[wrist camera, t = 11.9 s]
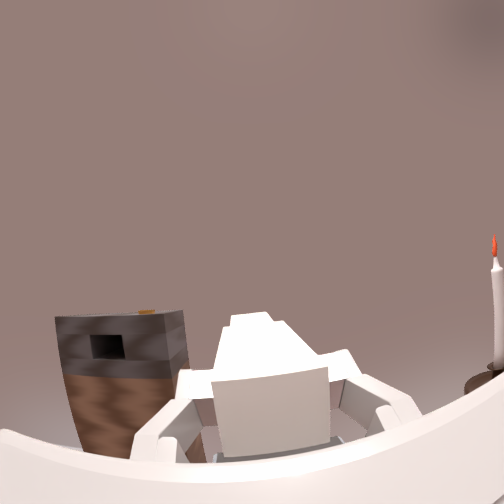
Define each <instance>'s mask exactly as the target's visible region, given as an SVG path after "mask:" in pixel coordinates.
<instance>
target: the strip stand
mask: <svg viewBox="0 0 504 504" xmlns="http://www.w3.org/2000/svg"><path fill="white" fill-rule="evenodd" d="M55 324H56V333H57V341H58V349H59V355H60V361H61V367H62V372H63V378H64V383H65V387H66V392H67V396H68V400H69V404H70V408H71V412H72V416H73V419H74V423H75V426H76V430H77V433H78V436H79V439H80V442H81V445H82V448H83V451H84V452H87V453H92V454H97V455H103V456H109V457H115V458H122V459H130V455H131V450H132V445H133V441H134V436H135V434H136V433H137V432H138V431H139V430H140V429H141V428H142V427H143V426H144V425H145V424H146V423H147V422H148V421H149V420H150V419H152V418H153V417H154V416H155V415H156V414H157V413H158V412H159V411H160V410H161V409H162V408H163V407H164V406H165V405H166V404H167V403H168V402H169V401H170V400H171V399H175V394H176V387H177V381H178V374H179V371H180V369H190V366H189V358H188V351H187V343H186V334H185V325H184V316H183V310H173V311H155V310H140V311H138V312H137V313H112V314H87V315H74V316H58V317H55ZM185 455H186V457H187V459H188V461H189V462H190V463H207V462H206V457H205V453H204V448H203V443H202V439H201V433H199V434H198V436H197V437H196V439H195V440H194V441H193V443H192V444H191V445H190V447H189V448H188V450H187V451H186V452H185Z"/></svg>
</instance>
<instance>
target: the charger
mask: <svg viewBox="0 0 504 504" xmlns="http://www.w3.org/2000/svg"><path fill="white" fill-rule="evenodd" d="M210 383H211V389H212V395H213V401H214V407H215V413H216V418H217V424H218V429H219V433H220V439H221V444H222V449H223V454H224V457H238V456H250V455H259V454H267V453H275V452H282V451H288V450H294V449H300V448H305V447H310V446H315V445H319V444H324V443H328V442H330V384H329V366H328V365H327V364H326V363H325V362H324V361H323V360H322V359H321V358H320V357H319V356H318V355H317V354H316V353H315V352H314V351H313V350H312V349H311V348H310V347H309V346H308V345H307V344H305V342H304V341H303V340H302V339H301V338H300V337H299V336H298V335H297V334H296V333H295V332H294V331H293V330H292V329H291V328H290V327H289V326H287V325H286V323H285V322H284V321H276V322H274V321H273V320H272V319H271V317H270V316H269V315H268V314H267V312H259V313H251V314H242V315H232V316H231V322H230V327H224V328H223V331H222V335H221V339H220V343H219V348H218V352H217V356H216V360H215V364H214V368H213V372H212V377H211V381H210Z"/></svg>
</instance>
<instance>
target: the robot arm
mask: <svg viewBox="0 0 504 504" xmlns="http://www.w3.org/2000/svg"><path fill="white" fill-rule="evenodd" d="M318 356H319V357H320V358H321V359H322V360H323V361H324V362H325V363H326V364H327V365H328V366H329V384H330V410H332V409H336V408H339V409H340V410H341V411H343V412H344V413H345V414H347V415H348V416H349V417H351V418H352V419H353V420H355V421H356V422H357V423H359V424H360V425H361V426H363V427H364V428H365V429H367V430H368V431H367V433H366V435H365V438H362V439H359V440H355V441H352V442H348V443H344V444H341V445H337V446H333V447H329V448H324V449H320V450H315V451H311V452H306V453H300V454H295V455H289V456H283V457H276V458H269V459H260V460H251V461H240V462H225V463H190V462H189V461H188V459H187V457H186V455H185V452H186V451H187V450H188V448H189V447H190V445H191V444H192V443H193V441H194V440H195V439H196V437H197V436H198V434H199V433H200V431H201V430H202V429H203V427H204V426H218V424H217V418H216V413H215V407H214V401H213V395H212V389H211V383H210V381H211V377H212V372H213V368H206V369H180V371H179V374H178V381H177V387H176V394H175V399H171V400H170V401H169V402H168V403H167V404H166V405H165V406H164V407H163V408H162V409H161V410H160V411H159V412H158V413H157V414H156V415H155V416H154V417H153V418H152V419H150V420H149V421H148V422H147V423H146V424H145V425H144V426H143V427H142V428H141V429H140V430H139V431H138V432H137V433H136V434H135V436H134V441H133V445H132V450H131V455H130V459H122V458H115V457H109V456H103V455H97V454H92V453H87V452H82V451H78V450H73V449H69V448H65V447H61V446H57V445H54V444H50V443H47V442H43V441H40V440H37V439H34V438H31V437H28V436H25V435H22V434H20V433H17V432H14V431H12V430H8V429H1V430H0V504H504V372H503V373H501V374H500V375H498V376H497V377H495V378H494V379H492V380H490V381H489V382H487V383H486V384H484V385H482V386H481V387H479V388H477V389H476V390H474V391H472V392H470V393H469V394H467V395H465V396H463V397H461V398H459V399H458V400H456V401H454V402H452V403H450V404H448V405H446V406H444V407H442V408H439V409H437V410H435V411H433V412H431V413H429V414H426V415H424V416H422V414H421V412H420V411H419V409H418V408H417V406H416V404H415V403H414V401H413V400H412V398H411V397H410V396H409V395H407V394H405V393H403V392H401V391H399V390H397V389H395V388H392V387H391V386H388V385H386V384H385V383H382V382H380V381H378V380H376V379H374V378H373V377H371V376H369V375H367V374H363V375H362V374H361V372H360V370H359V369H358V367H357V365H356V363H355V362H354V360H353V358H352V356H351V354H350V353H349V351H348V350H347V349H344V350H339V351H335V352H330V353H325V354H320V355H318Z"/></svg>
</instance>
